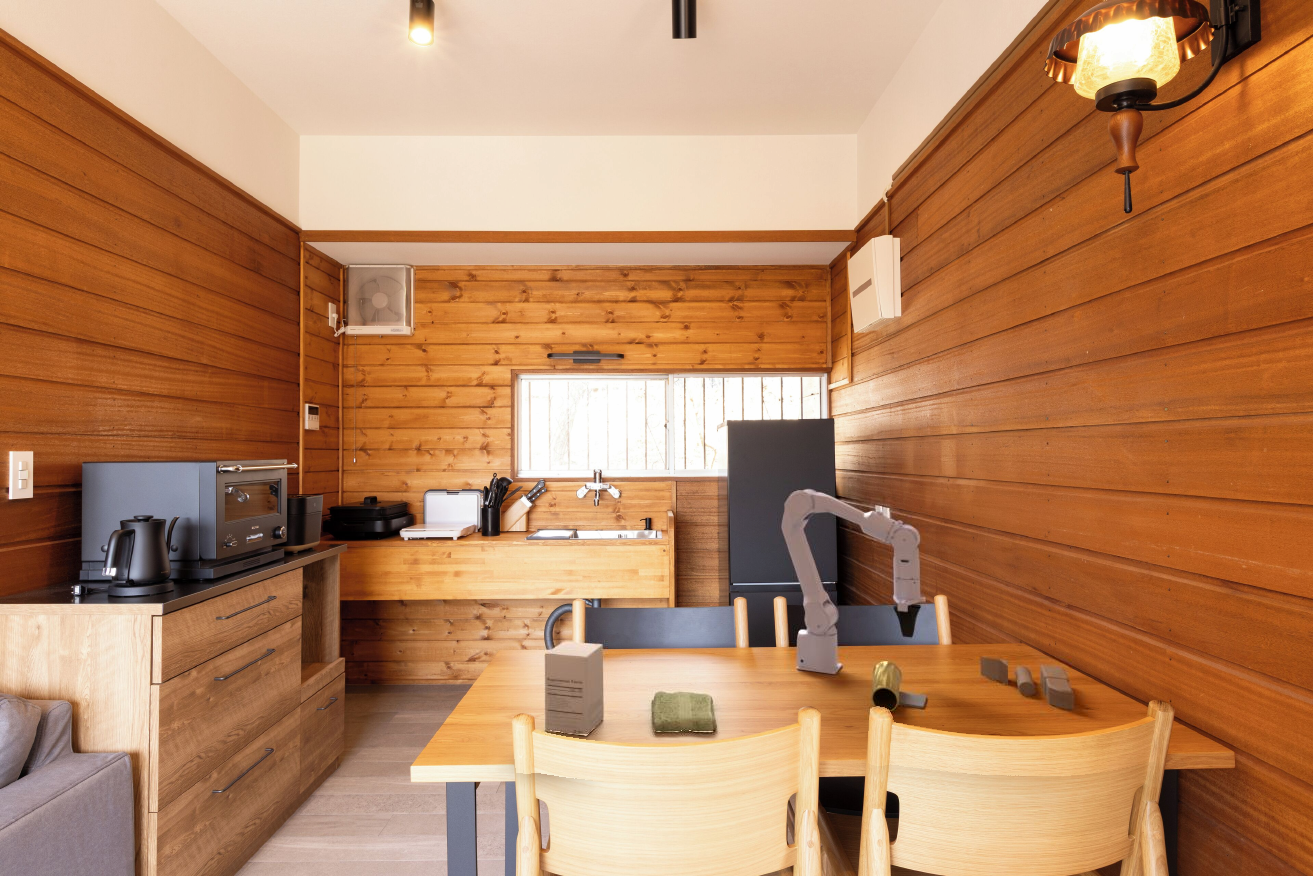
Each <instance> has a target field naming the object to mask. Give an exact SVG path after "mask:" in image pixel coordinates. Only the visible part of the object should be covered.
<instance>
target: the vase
mask: <svg viewBox="0 0 1313 876" xmlns="http://www.w3.org/2000/svg"><path fill="white" fill-rule="evenodd" d="M902 680H903V673H902V671H901V669H900V668H899V666H898V665H896V664H895V663H894V662H891V661H886V660H885V661H884V660H883V661H880V662H878V663H877V664H875V666H874V668H873V670H872V688H871V696H870V698H871V699H870V700H871V703H872V704H873V706H874V707H875V706H880V707H885V708H887V709H889V710H890V711H891V712H893V711H895V710H896V708H898V706H899V705H898V703H899V691H900V686H901V683H902Z"/></svg>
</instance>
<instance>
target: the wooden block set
mask: <svg viewBox="0 0 1313 876" xmlns="http://www.w3.org/2000/svg"><path fill="white" fill-rule="evenodd" d="M1039 668H1040V670H1039V671H1040V685H1041V688H1042V691H1043V693H1044V696H1046V698H1047V703H1048V704H1049V705H1051V706H1053V707H1055V708H1058V709H1061V710H1063V711H1064V710H1065V711H1071V712H1072V711H1074V709H1075V704H1074V700H1075V699H1074V697H1075V696H1074V691H1073V688H1072V687H1071V685H1070V679H1069V676H1068V675H1067V672H1066V671H1065V668H1064V667H1062V666H1056V665H1049V664H1048V665H1047V664H1041V665H1040V666H1039ZM981 675H983V676H985V677H984V678H986V677H987V678H986V679H989V678H990V679H989V680H992V679H993V680H992V681H995V680H996V681H995V682H997V681H999V682H998V683H1000V682H1001V683H1000V684H1003V683H1005V684H1004V685H1007V684H1008V685H1009V665H1008V661H1007V660H1006V659H1000V658H991V657H983V656H982V657H981V656H980V676H981ZM1014 675H1015V676H1014V677H1015V679H1016V683H1017V688H1018V691H1019V693H1020V694H1021V695H1023V696H1024V695H1027V696H1026V697H1032V696H1034V695H1035V693H1036V691H1037V690H1036V686H1035V683H1034V678H1033V676H1032V672H1031V670H1030V669H1029V668H1028V667H1027V666H1023V665H1019V666H1017V667H1016V668H1015V669H1014ZM983 676H982V677H983Z"/></svg>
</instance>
